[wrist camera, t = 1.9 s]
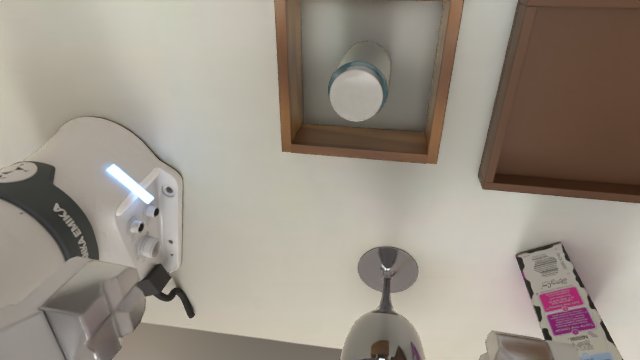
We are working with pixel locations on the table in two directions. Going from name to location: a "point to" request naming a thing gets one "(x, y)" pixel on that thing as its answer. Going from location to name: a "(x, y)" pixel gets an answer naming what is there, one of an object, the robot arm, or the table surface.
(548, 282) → the candy bar box
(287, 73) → the open square wooden box
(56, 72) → the table surface
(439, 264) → the table surface
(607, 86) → the tray
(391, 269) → the wine glass
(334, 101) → the salt shaker
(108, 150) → the robot arm
